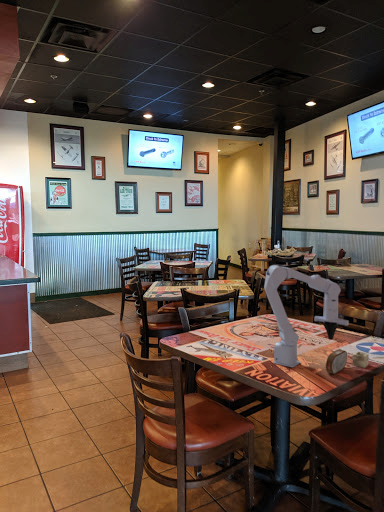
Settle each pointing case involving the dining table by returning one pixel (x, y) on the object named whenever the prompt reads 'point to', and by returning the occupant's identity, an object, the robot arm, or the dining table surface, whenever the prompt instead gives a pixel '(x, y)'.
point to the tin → (336, 361)
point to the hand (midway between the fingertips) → (330, 339)
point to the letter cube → (360, 359)
